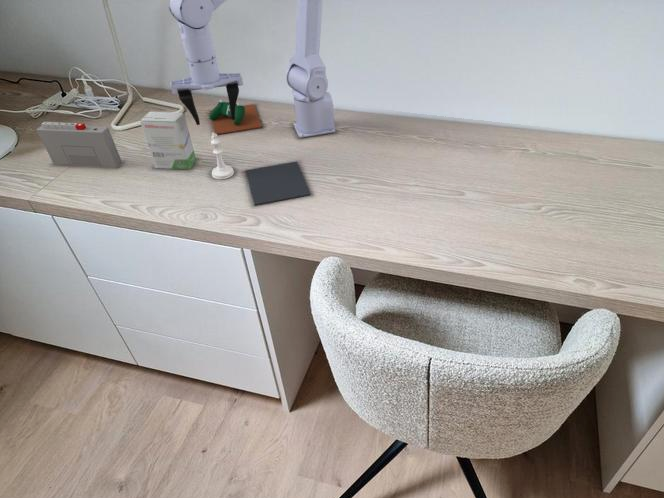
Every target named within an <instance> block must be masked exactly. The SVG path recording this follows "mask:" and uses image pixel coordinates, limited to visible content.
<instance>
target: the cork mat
mask: <svg viewBox="0 0 664 498" xmlns="http://www.w3.org/2000/svg"><path fill="white" fill-rule="evenodd" d="M244 107H245V114H244V117H243V119H242V121H241V122H240V123H239V124H238V125H235V124H234V120H232V117H225V116H223V115H222V116H220V117H219V118H217V119H216V120H211V122H212V126H213V127H212V128H213V133H215V134H217V136H219V135H226V134H232V133H238V132H244V131H250V130H258V129H262V128H263V126H262V123H261V119H260V118H259V115H258V112H257V109H256V106H255V104H254V103H252V104H245V105H244ZM211 111H212V110H210V111H209V113H211Z"/></svg>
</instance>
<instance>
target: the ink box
mask: <svg viewBox="0 0 664 498" xmlns="http://www.w3.org/2000/svg"><path fill="white" fill-rule="evenodd" d="M139 123H140V126H141V129H142V132H143V135H144V138H145V141H146V144H147V147H148V150H149V153H150V156H151V159H152V163H153V166H154V168H155V169H166V170H167V169H168V170H191V168H192V167H193V165H194V163H195V162H196V161H197V157H196V153H195V149H194V145H193V141H192V138H191V134H190V129H189V126H188V122H187V118H186V115H185V112H172V111H171V112H168V111H150V110H149V111H148V112H147V113H146V114H144V116H142V118H140V120H139Z"/></svg>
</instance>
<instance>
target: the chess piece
mask: <svg viewBox="0 0 664 498" xmlns="http://www.w3.org/2000/svg"><path fill="white" fill-rule="evenodd" d="M217 137H218V135H217V134H215V132H211V136H210V145H211V146H212V148H213V150H212V154H214V155H215V156H216V165H217V166H216V167H214V168H213V169H212V170H211V176H212V178H214V179H216V180H226V179H229V178H231V177H232V176H234V173H235V171H234V168H233V166H231V165H227V164H225V162H224V160H223V159H224V158H223V157H222V153H223V152H224V151H223V149H222V148H220V146H221V140H220V139H218V138H217Z"/></svg>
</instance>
